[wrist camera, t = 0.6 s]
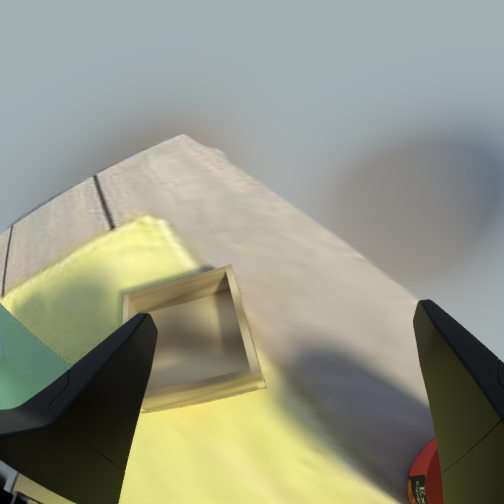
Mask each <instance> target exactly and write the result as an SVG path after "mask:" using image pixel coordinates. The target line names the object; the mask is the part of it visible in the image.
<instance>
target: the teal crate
mask: <svg viewBox="0 0 504 504" xmlns="http://www.w3.org/2000/svg"><path fill="white" fill-rule="evenodd" d="M71 367H72V366H71V365H70V364H68V363H67V362H66V361H65V360H63V359H62V358H61V357H60V356H58V355H57V354H56V353H55V352H53V351H52V350H51V349H50V348H48V347H47V346H46V345H45V344H44V343H42V342H41V341H40V340H39V339H38V338H37V337H36V336H34V335H33V334H32V333H31V332H30V331H29V330H28V329H27V328H25V327H24V326H23V325H22V324H21V323H20V322H19V321H18V320H17V319H16V318H15V317H14V316H13V315H12V314H11V313H10V312H9V311H8V310H7V309H6V308H5V307H4V306H3V305H2V304H1V303H0V409H12V408H15V407H17V406H20V405H21V404H23V403H24V402H26V401H27V400H28V399H30V398H31V397H33V396H34V395H35V394H37V393H38V392H40V391H41V390H43V389H44V388H45V387H47V386H48V385H49V384H51V383H52V382H53V381H55V380H56V379H57V378H58V377H60V376H61V375H62V374H63V373H65V372H66V371H67V370H68V369H70V368H71Z"/></svg>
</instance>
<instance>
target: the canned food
mask: <svg viewBox="0 0 504 504" xmlns="http://www.w3.org/2000/svg"><path fill="white" fill-rule="evenodd" d="M407 491H408V496H409V500H410V502H411V504H444V494H443V484H442V473H441V466H440V459H439V453H438V446H437V440H436V438H434V439H433V440H431V441H430V442H429V443H428V444H427V445H426V446H425V447H424V448H423V449H422V451H421V452H420V453H419V455H418V456H417V458H416V460H415V462H414V463H413V465H412V468H411V470H410V473H409V477H408V483H407Z"/></svg>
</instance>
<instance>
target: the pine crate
mask: <svg viewBox="0 0 504 504" xmlns="http://www.w3.org/2000/svg"><path fill="white" fill-rule="evenodd" d="M140 312H145V313H149V314H150V315H151V316H152V319H153V321H154V323H155V325H156V327H157V330H158V337H157V342H156V348H155V353H154V359H153V364H152V370H151V374H150V378H149V381H148V385H147V388H146V392H145V395H144V399H143V402H142V406H141V410H140V412H141V413H149V412H156V411H162V410H168V409H174V408H180V407H185V406H190V405H195V404H200V403H205V402H210V401H214V400H219V399H223V398H227V397H232V396H236V395H240V394H244V393H248V392H251V391H255V390H259V389H263V388H266V386H265V382H264V379H263V375H262V371H261V368H260V364H259V361H258V357H257V354H256V350H255V346H254V343H253V339H252V335H251V332H250V328H249V325H248V321H247V317H246V313H245V310H244V306H243V302H242V299H241V295H240V291H239V287H238V284H237V281H236V278H235V275H234V272H233V269H232V266H231V265H228V266H224V267H221V268H217V269H214V270H210V271H207V272H203V273H200V274H196V275H193V276H189V277H186V278H182V279H178V280H175V281H171V282H168V283H164V284H161V285H157V286H154V287H150V288H147V289H143V290H139V291H136V292H132V293H129V294H125V295H124V296H123V317H122V325H123V324H125V323H126V322H127V321H128V320H130V319H131V318H132V317H133V316H135V315H136V314H137V313H140Z"/></svg>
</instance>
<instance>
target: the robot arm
mask: <svg viewBox="0 0 504 504" xmlns="http://www.w3.org/2000/svg"><path fill="white" fill-rule="evenodd" d="M413 326H414V332H415V337H416V343H417V349H418V356H419V362H420V367H421V371H422V375H423V379H424V383H425V387H426V391H427V396H428V400H429V405H430V409H431V414H432V419H433V424H434V429H435V435H436V440H437V446H438V453H439V459H440V466H441V473H442V484H443V494H444V504H504V363H503V362H502V361H501V360H500V359H499V360H498V357H497V356H496V355H495V354H493V353H492V352H491V351H490V350H489V349H488V348H486V346H485V345H483V344H482V343H481V342H480V341H479V340H478V339H477V338H476V337H474V336H473V335H472V334H471V333H470V332H469V331H467V330H466V329H465V328H464V327H463V326H462V325H461V324H459V323H458V322H457V321H456V320H455V319H454V318H452V317H451V316H450V315H449V314H448V313H446V312H445V311H444V310H443V309H441V308H440V307H439V306H438V305H437V304H435V303H434V302H433V301H431V300H429V299H427V300H420V301H419V302H418V304H417V307H416V311H415V315H414V319H413ZM157 337H158V330H157V327H156V325H155V323H154V321H153V319H152V316H151V315H150V314H149V313H145V312H140V313H137V314H136V315H135V316H133V317H132V318H131V319H130V320H128V321H127V322H126V323H125V324H123V325H122V326H121V327H120V328H118V329H117V330H116V331H115V332H113V333H112V334H111V335H110V336H108V337H107V338H106V339H105V340H104V341H102V342H101V343H100V344H99V345H97V346H96V347H95V348H94V349H93V350H91V351H90V352H89V353H88V354H86V355H85V356H84V357H83V358H82V359H80V360H79V361H78V362H77V363H75V364H74V365H73V366H72V367H71V368H70V369H68V370H67V371H66V372H65V373H63V374H62V375H61V376H60V377H58V378H57V379H56V380H55V381H53V382H52V383H51V384H49V385H48V386H47V387H45V388H44V389H43V390H41V391H40V392H38V393H37V394H35V395H34V396H33V397H31V398H30V399H28V400H27V401H26V402H24V403H23V404H21V405H20V406H17V407H15V408H12V409H0V504H118V503H119V498H120V493H121V489H122V484H123V480H124V475H125V470H126V466H127V461H128V457H129V453H130V449H131V445H132V441H133V437H134V433H135V429H136V425H137V421H138V417H139V414H140V410H141V406H142V402H143V399H144V395H145V392H146V388H147V385H148V381H149V378H150V374H151V370H152V364H153V359H154V353H155V348H156V342H157Z"/></svg>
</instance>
